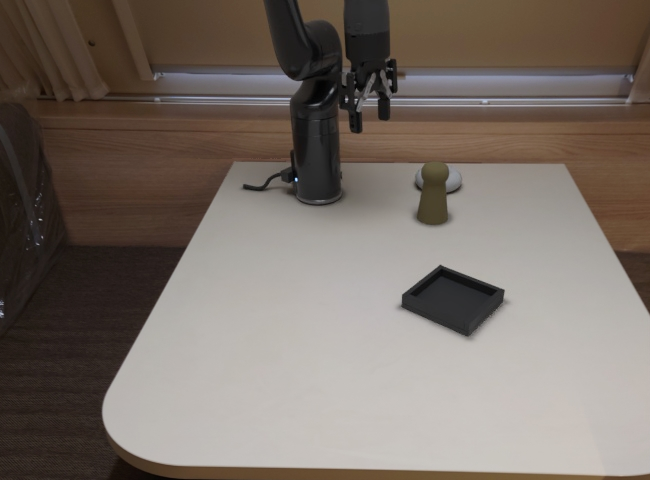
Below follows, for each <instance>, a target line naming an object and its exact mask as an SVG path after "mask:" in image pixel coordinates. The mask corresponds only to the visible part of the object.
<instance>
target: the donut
mask: <svg viewBox="0 0 650 480" xmlns="http://www.w3.org/2000/svg"><path fill="white" fill-rule="evenodd" d="M447 166H448V168H449V177H448V179H447V181H446V193H450V192H451V193H452V192H454V191H456V190H457V189H458V188H460V186H461V185H462V182H463V176H462V173H461V172H460V171H459V170H458V169H457V168H455V167H453V166H451V165H447ZM421 169H422V167H421V168H419V169H418V170H417V172H416V173H415V176H414V179H415V184H416V185H417V186H418V187H419V188H420V189H421V190H422V186H423V181H424V180H423V179H422V176H421Z"/></svg>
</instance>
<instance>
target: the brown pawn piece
mask: <svg viewBox="0 0 650 480" xmlns="http://www.w3.org/2000/svg"><path fill="white" fill-rule="evenodd" d="M448 166H449V165H447V163H445V162H443V161H439V160H432V161H427V162H426V163H424V164H423V165H422V167H421V168H422V169H421V168H420V169H421V176H422V179H423V180H424V181H423V186H422V189H421V192H420V196H419V197H420V198H419V203H418V208H417V213H416V219H417V221H419V222H420V223H421V224H425V225H430V226H437V225H443V224H445V223H446V222H448V219H449V214H448V213H449V212H448V198H447V192H446V181H447V179H448V177H449V168H448Z"/></svg>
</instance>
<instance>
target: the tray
mask: <svg viewBox="0 0 650 480" xmlns="http://www.w3.org/2000/svg"><path fill="white" fill-rule="evenodd" d="M505 293H506V289H504V288H502V287H498V286H496V285H495V284H494V285H493V284H491V283H489V282H487V281H483V280H481V279H478V278H475V277H473V276H470V275H467V274H465V273H462V272H460V271H457V270H454V269H452V268H449V267H448V266H445V265H442V264H439V265H438V266H436V267H435V268H434V269H433V270H431V271H430V272H429V273H428V274H426V275H425V276H424V277H423V278H421V279H420V280H419V281H417V282H416V283H415V284H414V285H412V286H411V287H410V288H408V289H407V290H406V291H405V292H403V293H402V294H401V308H403V309H405V310H408V311H410V312H412V313H414V314H417V315H419V316H421V317H423V318H426V319H428V320H430V321H433V322H435V323H437V324H439V325H442V326H444V327H446V328H448V329H450V330H452V331H455V332H457V333H459V334H461V335H464V336H466V337H469V336H470V335H472V334H473V332H475V330H476V329H477V328H478V327H480V326H481V324H483V323H484V321H485V320H486V319H487V318H489V316H491V315H492V314H493V312H495V311H496V309H498V307H499V306H501V305H502V304H503V302H504V299H505Z"/></svg>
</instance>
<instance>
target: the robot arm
mask: <svg viewBox="0 0 650 480" xmlns="http://www.w3.org/2000/svg"><path fill="white" fill-rule="evenodd" d="M262 2H263V6H264V10H265V15H266V19H267V23H268V29H269V34H270V38H271V42H272V46H273V51H274V54H275V57H276V60H277V63H278V65H279V68H280V69H281V71H282V72H283V73H284V74H285V76H286V77H287V78H289V79H290V80H292V81H295V82H301V84H300V86H299V88H298V89H297V90H296V92H294V94H292V96H290V100H289V115H290V126H291V138H292V147H293V148H292V149H290V151H289V156H290V164H291V165H290V166H288V167H286V168H283V169H282V170H280V171H279V172H276V173H274V174H272V175H270V176H269V177H268V178H267V179H266V180H265V182H264V183H263V185H261V186H259V185H258V186H255V185H251V184H247V183H243V184H242V188H243V189H249V190H252V191H262V190H266V188H267V187H268V186H269V185H270V183H271V182H272V181H273V180H275V179H276V178H279V177H280V181H281V182H284V183H286V184H290V183H292V189H293V195H295V196H296V198H297V200H299V201H300V202H302V203H304V204H309V205H326V204H331V203H334V202H336V201H338V200H339V199H341V197H342V196H343V189H342V179H343V171H342V165H341V164H342V163H341V140H340V139H341V138H340V136H341V135H340V114H339V111H340V110H342V111H347V113H348V125H349V131H350V132H351V133H352V134H357V135H358V134H362V133H363V129H364V128H363V127H364V125H363V112H362V109H363V108H362V107H363V105H364V102H365V101H367V99H368V98H369V95H370V94H372V93H373V92H375V94H376V96H377V118H378V120H379V121H385V122H388V121H389V120H390V119H391V100H392V98H393V94H397V93H398V90H399V88H398V87H399V86H398V66H397V59H396V58H390V57H391V21H390V19H391V17H390V15H391V14H390V5H389V0H343V8H342V9H343V11H342V12H343V14H342V15H343V16H342V17H343V33H344V36H343V37H344V50H345V58H346V60H348V61H349V62H350V70H349V71H343V70H344V69H343V65H344V64H343V63H344V62H343V61H344V60H343V59H344V58H343V57H344V56H343V55H344V54H343V45H342V41H341V37H340V33H338V30H337V28H336V27H335V25H333V23H332V22H330V21H328V20H325V19H322V18H321V19H320V18H318V19H317V18H316V19H312V20H307V21H304V18H303V15H302V11H301V8H300V4H299V0H262ZM389 81H391V84H390V82H389ZM346 97H347V101H346ZM355 100H356V101H355Z"/></svg>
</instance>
